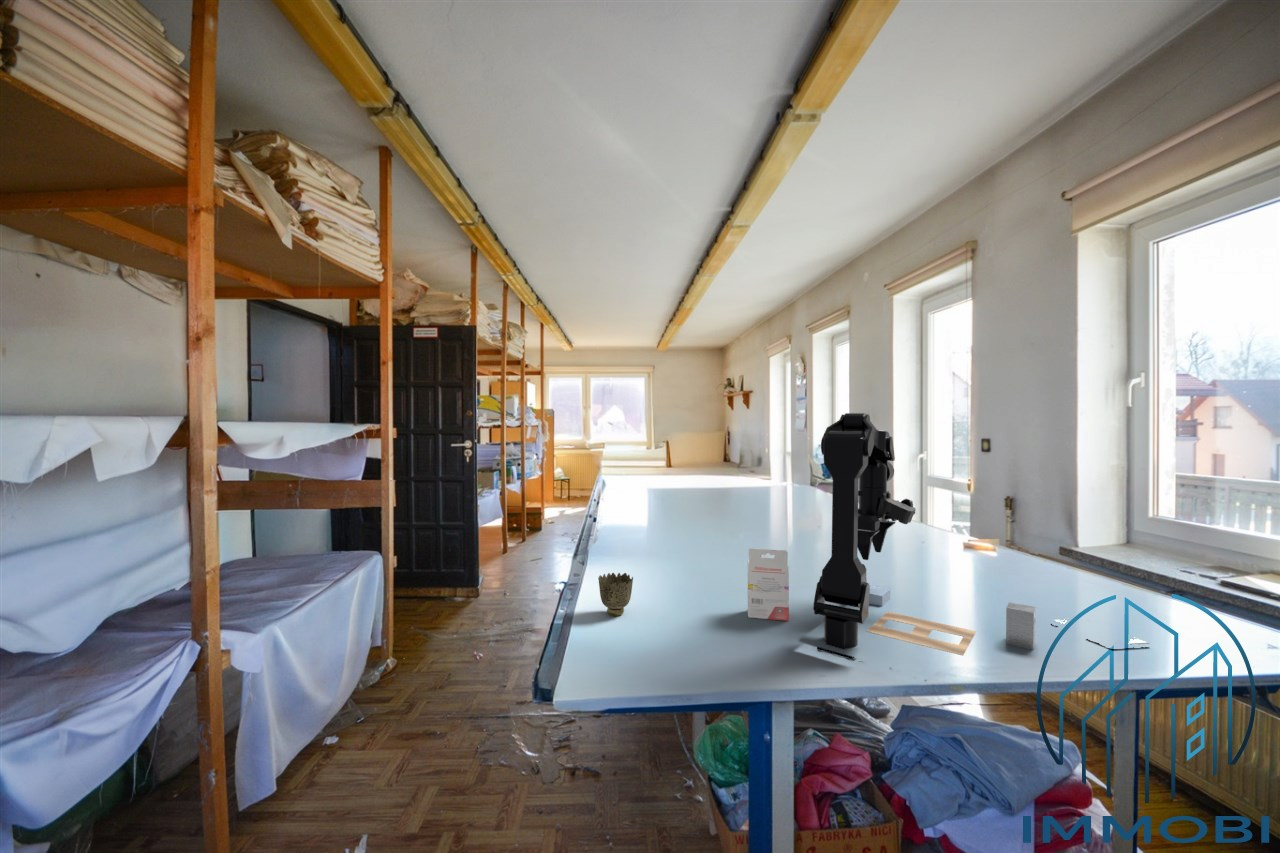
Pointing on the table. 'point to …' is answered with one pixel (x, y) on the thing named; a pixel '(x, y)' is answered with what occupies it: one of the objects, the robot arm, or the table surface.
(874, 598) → the block
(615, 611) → the cup
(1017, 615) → the grey rectangular block
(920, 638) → the socket board
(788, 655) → the table surface
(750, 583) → the ink cartridge box
